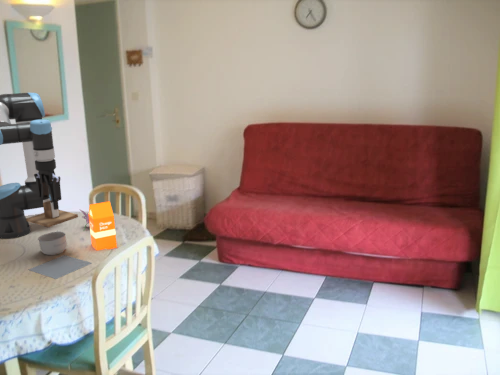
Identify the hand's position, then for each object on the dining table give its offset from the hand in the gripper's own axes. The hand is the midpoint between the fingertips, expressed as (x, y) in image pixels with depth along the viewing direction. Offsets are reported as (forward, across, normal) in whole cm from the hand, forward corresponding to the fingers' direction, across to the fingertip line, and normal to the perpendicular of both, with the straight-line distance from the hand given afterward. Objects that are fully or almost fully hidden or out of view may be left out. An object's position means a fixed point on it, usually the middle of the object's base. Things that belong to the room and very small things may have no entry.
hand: (52, 215), depth 204 cm
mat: (+17, +12, -7) cm, 22 cm away
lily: (+19, -15, +30) cm, 39 cm away
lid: (+2, 0, 0) cm, 2 cm away
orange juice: (+18, +10, +17) cm, 26 cm away
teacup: (+18, -4, +3) cm, 19 cm away
